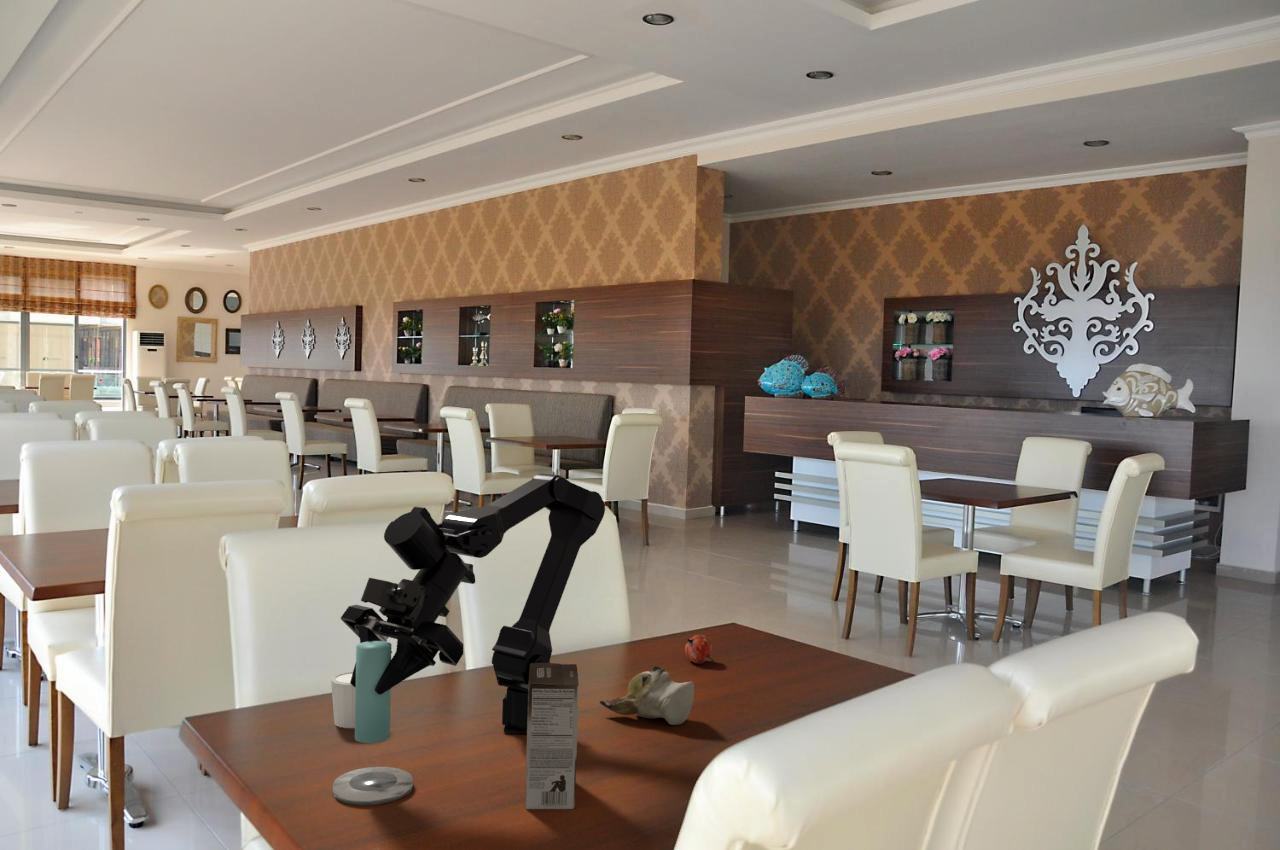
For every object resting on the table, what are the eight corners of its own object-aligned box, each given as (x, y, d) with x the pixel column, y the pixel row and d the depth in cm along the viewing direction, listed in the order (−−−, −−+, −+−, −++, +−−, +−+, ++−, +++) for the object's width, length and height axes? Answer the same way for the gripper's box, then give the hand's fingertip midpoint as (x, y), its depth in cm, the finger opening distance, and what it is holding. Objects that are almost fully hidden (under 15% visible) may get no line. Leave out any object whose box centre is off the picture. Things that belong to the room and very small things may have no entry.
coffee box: (526, 781, 132) (529, 662, 131) (574, 781, 132) (577, 662, 132) (524, 810, 123) (527, 682, 122) (575, 810, 123) (579, 682, 123)
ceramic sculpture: (675, 679, 151) (596, 667, 159) (676, 735, 151) (597, 720, 159) (710, 665, 159) (633, 654, 168) (710, 718, 159) (634, 705, 168)
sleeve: (388, 729, 130) (390, 640, 130) (391, 741, 126) (392, 648, 126) (354, 732, 129) (355, 641, 128) (355, 744, 125) (357, 650, 124)
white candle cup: (363, 731, 149) (364, 685, 148) (321, 727, 150) (322, 681, 150) (383, 717, 155) (384, 673, 155) (343, 712, 157) (344, 669, 156)
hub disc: (420, 775, 133) (420, 767, 133) (402, 806, 123) (402, 798, 123) (346, 772, 133) (346, 764, 133) (322, 804, 123) (322, 795, 123)
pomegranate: (700, 665, 196) (672, 644, 194) (718, 643, 196) (690, 622, 194) (709, 677, 191) (680, 655, 188) (727, 654, 191) (699, 632, 189)
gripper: (353, 546, 135) (282, 641, 127) (449, 563, 125) (379, 668, 116) (396, 593, 142) (332, 687, 133) (491, 613, 131) (427, 717, 123)
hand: (364, 689), depth 126 cm, fingers closed on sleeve, 4 cm apart
